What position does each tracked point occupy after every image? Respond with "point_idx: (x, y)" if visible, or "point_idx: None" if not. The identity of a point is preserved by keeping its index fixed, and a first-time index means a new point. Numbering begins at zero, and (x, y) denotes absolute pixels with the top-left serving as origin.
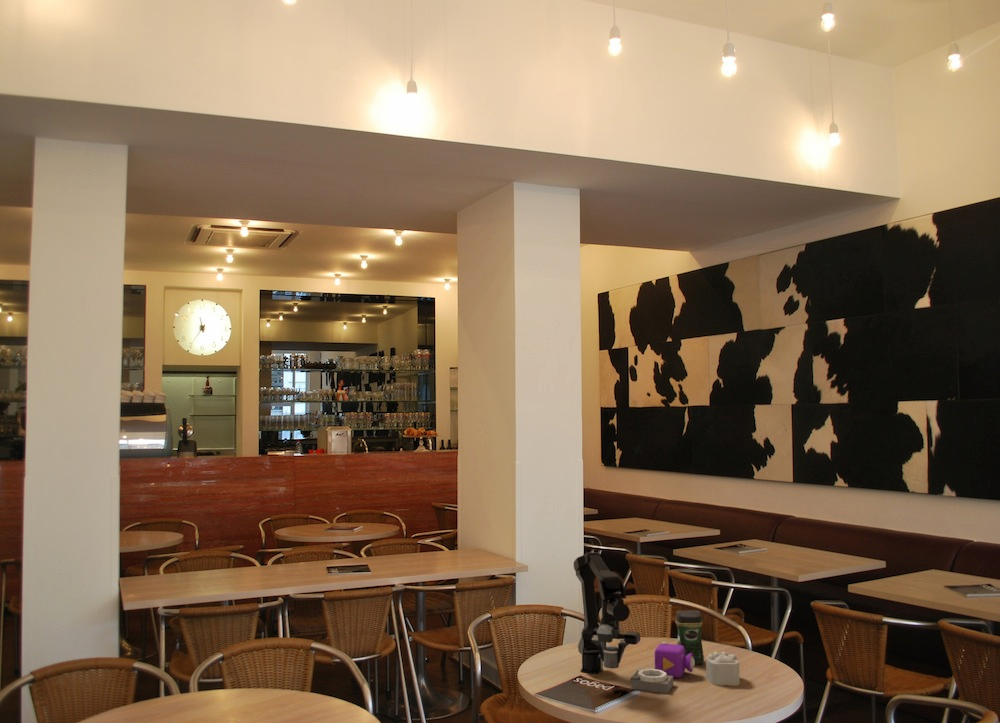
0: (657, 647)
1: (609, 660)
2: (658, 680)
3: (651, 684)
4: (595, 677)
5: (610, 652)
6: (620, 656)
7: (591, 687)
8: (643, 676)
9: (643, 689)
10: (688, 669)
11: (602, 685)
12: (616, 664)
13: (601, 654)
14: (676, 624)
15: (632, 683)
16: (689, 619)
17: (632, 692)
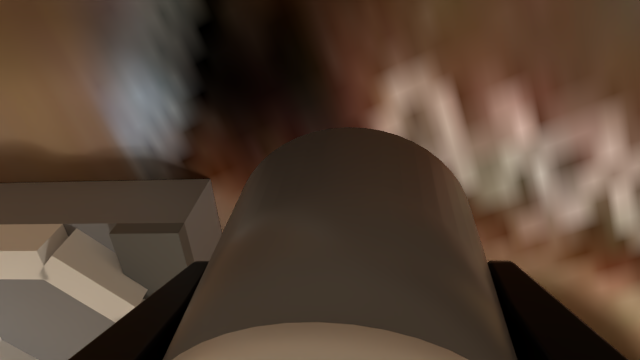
0: None
1: (327, 199)
2: None
3: (12, 213)
4: (568, 308)
5: (266, 345)
6: (98, 338)
7: (563, 70)
8: (51, 258)
9: (107, 185)
10: None
11: (467, 164)
12: (230, 216)
13: (572, 345)
14: None
15: (183, 204)
16: None
17: (159, 101)
